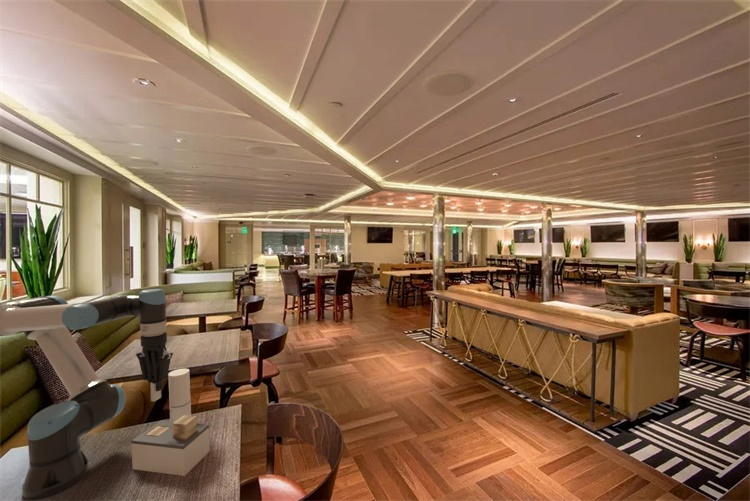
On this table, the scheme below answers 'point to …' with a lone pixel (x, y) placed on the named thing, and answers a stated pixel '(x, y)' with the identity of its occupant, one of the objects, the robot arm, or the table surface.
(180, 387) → the cylindrical container
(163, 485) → the table surface
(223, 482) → the table surface
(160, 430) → the peg
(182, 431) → the peg
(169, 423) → the plinth
